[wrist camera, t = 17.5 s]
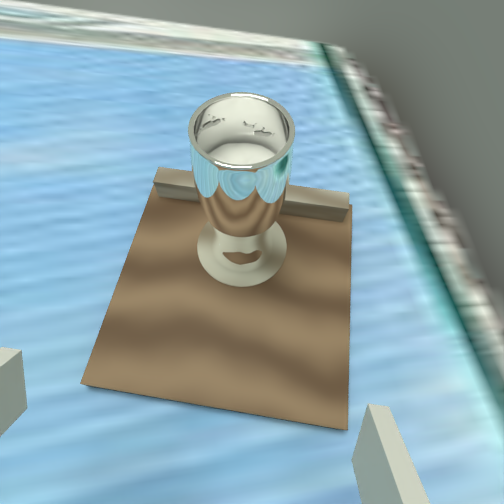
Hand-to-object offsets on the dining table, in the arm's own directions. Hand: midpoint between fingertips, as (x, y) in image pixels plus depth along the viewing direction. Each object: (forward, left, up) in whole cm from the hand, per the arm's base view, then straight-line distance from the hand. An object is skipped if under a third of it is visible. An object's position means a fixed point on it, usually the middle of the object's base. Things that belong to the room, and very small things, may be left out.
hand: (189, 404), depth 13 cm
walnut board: (+8, +9, -17) cm, 21 cm away
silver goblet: (+10, +11, -16) cm, 22 cm away
